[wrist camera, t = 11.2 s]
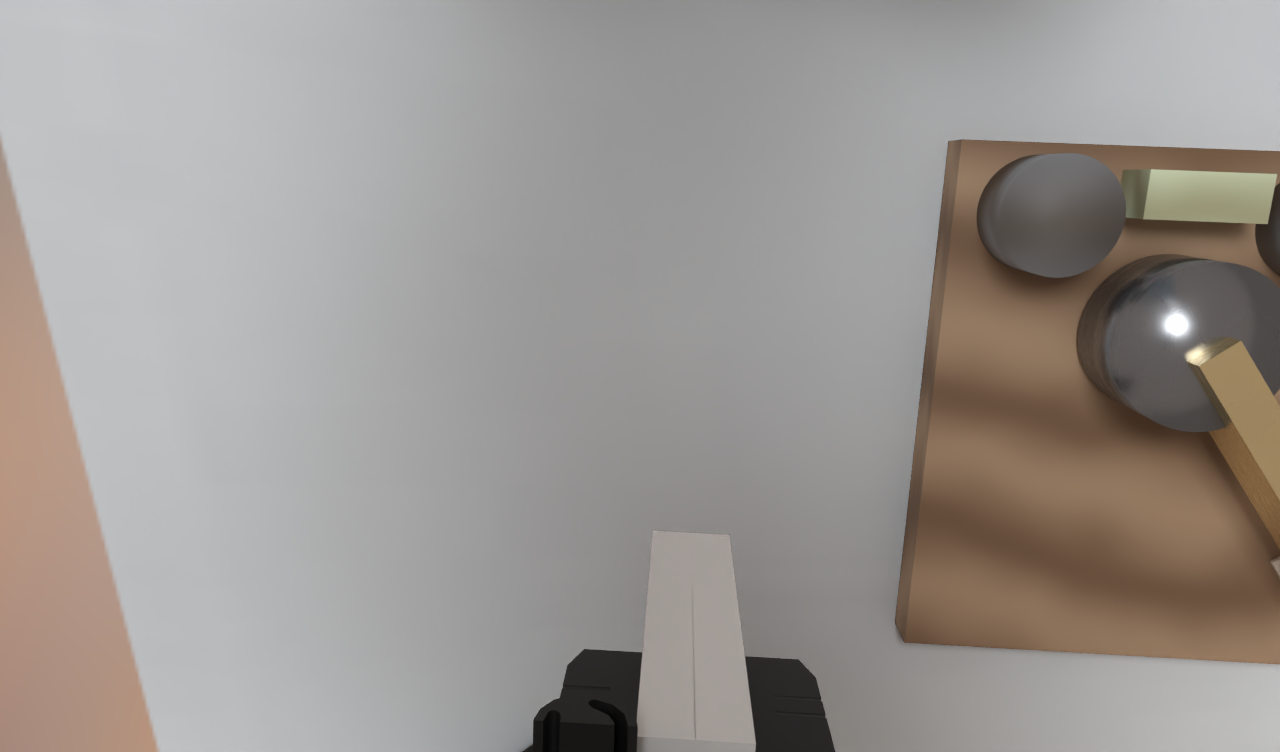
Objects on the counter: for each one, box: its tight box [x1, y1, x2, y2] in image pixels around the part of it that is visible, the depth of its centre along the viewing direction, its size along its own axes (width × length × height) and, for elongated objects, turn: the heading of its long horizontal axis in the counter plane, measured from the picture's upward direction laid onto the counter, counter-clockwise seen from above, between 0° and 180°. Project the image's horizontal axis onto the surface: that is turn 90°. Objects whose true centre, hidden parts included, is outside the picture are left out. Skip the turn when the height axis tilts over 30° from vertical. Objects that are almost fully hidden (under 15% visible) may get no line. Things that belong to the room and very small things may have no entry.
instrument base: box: [895, 140, 1280, 664], centre depth 41 cm, size 24×19×5 cm
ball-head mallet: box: [1078, 254, 1280, 548], centre depth 38 cm, size 16×7×5 cm, turn 35°
